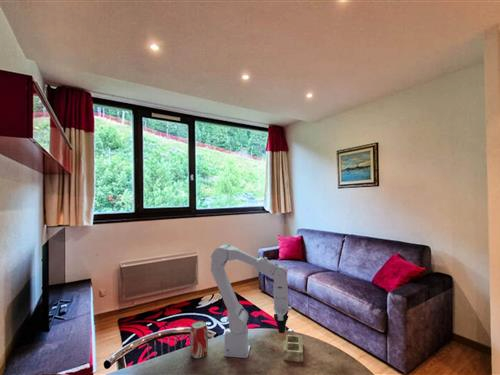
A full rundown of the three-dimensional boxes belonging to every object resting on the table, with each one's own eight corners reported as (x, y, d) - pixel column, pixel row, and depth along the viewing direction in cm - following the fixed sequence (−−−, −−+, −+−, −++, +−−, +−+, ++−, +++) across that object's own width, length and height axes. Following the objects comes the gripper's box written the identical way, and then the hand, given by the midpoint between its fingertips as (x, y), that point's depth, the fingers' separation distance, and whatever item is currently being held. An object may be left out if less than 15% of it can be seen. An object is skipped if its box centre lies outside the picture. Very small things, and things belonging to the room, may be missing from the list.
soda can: (204, 361, 97) (203, 329, 98) (187, 359, 99) (187, 328, 99) (210, 350, 104) (210, 320, 105) (194, 348, 106) (194, 319, 106)
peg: (278, 340, 98) (277, 319, 99) (278, 336, 101) (277, 316, 102) (286, 340, 98) (285, 320, 98) (286, 336, 101) (285, 316, 101)
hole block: (283, 360, 97) (283, 351, 97) (284, 342, 109) (284, 334, 109) (303, 362, 96) (303, 352, 96) (302, 344, 107) (301, 335, 108)
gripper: (290, 303, 93) (292, 341, 92) (290, 289, 107) (292, 322, 106) (271, 303, 94) (272, 340, 93) (274, 289, 108) (275, 321, 107)
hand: (281, 330), depth 100 cm, fingers closed on peg, 3 cm apart
